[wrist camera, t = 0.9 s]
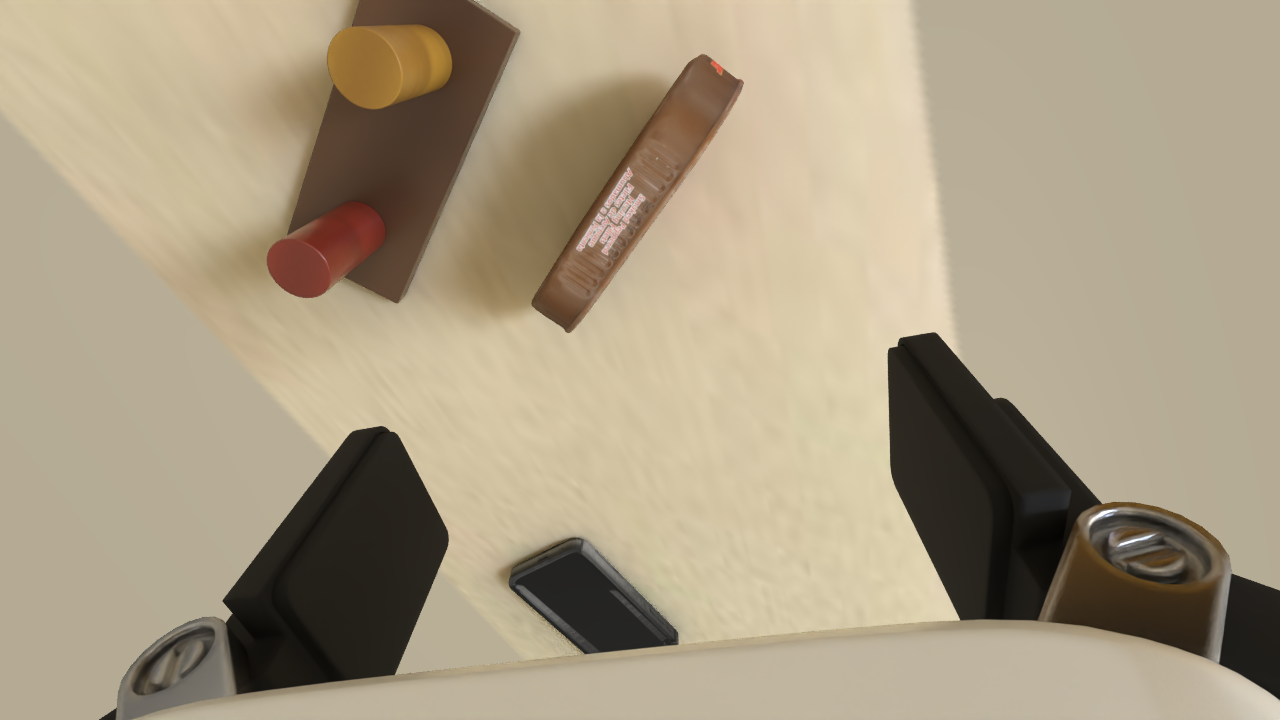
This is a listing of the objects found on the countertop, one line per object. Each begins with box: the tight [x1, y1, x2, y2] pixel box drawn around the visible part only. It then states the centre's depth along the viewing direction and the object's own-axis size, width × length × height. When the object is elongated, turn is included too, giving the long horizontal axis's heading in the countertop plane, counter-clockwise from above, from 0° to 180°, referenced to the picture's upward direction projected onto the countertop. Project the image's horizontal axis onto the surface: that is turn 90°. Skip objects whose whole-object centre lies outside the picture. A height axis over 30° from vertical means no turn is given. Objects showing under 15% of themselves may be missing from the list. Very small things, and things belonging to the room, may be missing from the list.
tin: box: [532, 54, 744, 333], centre depth 30 cm, size 15×3×8 cm, turn 145°
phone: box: [509, 539, 679, 654], centre depth 51 cm, size 8×1×15 cm
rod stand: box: [267, 0, 520, 303], centre depth 30 cm, size 7×17×8 cm, turn 149°
